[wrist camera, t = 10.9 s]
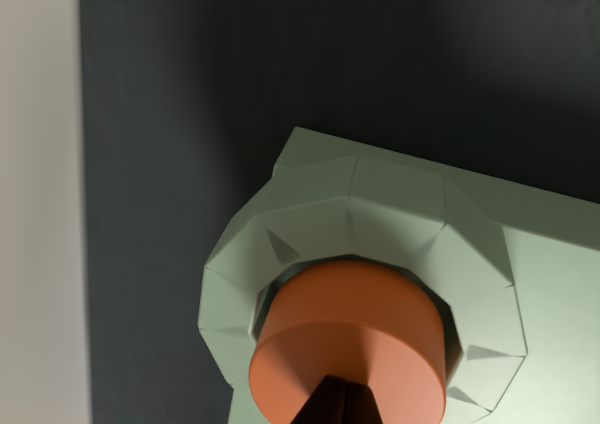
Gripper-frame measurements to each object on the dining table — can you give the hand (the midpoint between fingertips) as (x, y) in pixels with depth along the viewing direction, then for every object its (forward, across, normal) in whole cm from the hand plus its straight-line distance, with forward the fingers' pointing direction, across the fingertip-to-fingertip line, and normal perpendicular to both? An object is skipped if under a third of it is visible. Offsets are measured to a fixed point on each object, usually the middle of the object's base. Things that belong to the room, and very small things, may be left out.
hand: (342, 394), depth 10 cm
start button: (+2, 0, 0) cm, 2 cm away
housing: (+5, -2, +2) cm, 6 cm away
